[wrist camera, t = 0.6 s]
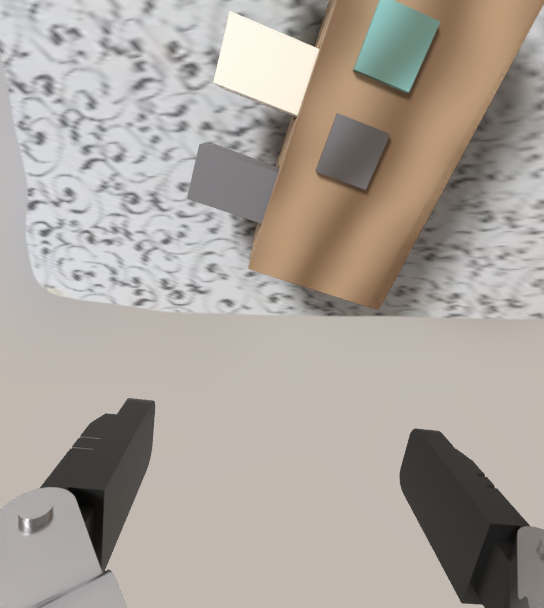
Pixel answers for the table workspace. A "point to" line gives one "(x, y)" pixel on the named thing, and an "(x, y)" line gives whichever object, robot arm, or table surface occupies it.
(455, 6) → the block
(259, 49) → the key ivory
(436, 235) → the table surface
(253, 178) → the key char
